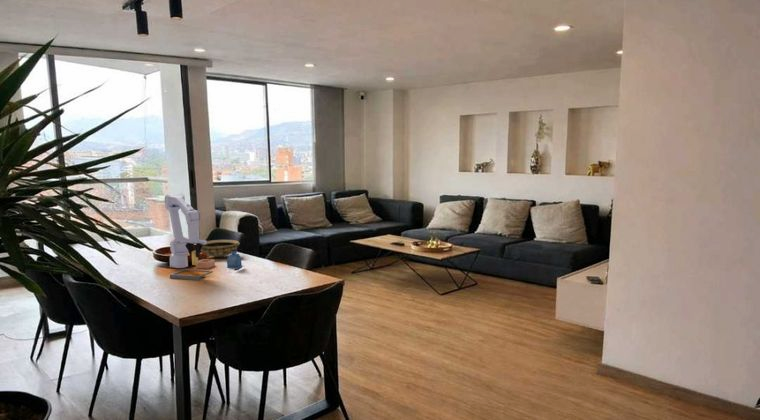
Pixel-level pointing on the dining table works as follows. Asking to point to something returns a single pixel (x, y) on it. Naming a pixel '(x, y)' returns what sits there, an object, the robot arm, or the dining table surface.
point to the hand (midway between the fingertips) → (194, 256)
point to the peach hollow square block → (205, 263)
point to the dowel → (194, 258)
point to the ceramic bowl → (219, 248)
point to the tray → (189, 275)
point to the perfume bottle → (234, 260)
